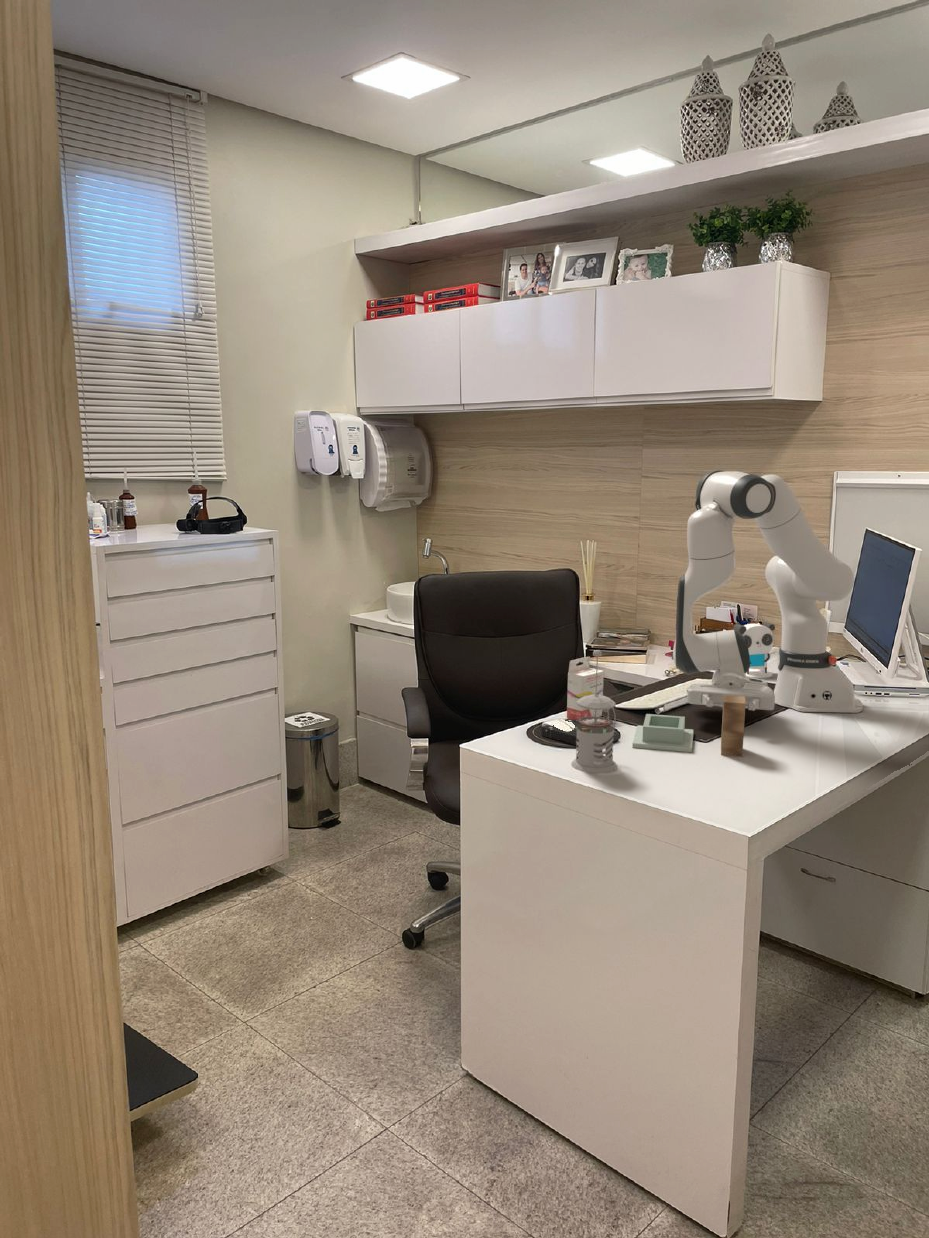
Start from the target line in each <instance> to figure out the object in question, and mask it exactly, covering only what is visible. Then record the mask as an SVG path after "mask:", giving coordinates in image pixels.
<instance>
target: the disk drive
mask: <svg viewBox="0 0 929 1238" xmlns="http://www.w3.org/2000/svg"><path fill="white" fill-rule="evenodd" d="M564 720H565V721H568V722H572V723H573V724H574V725H575V728H574V730H572V731H563V730H560V729H558V728H556V727H554V725H553V726H551V725H552V724H551V725H549V724H545V725H542V726H541V735H540V736H541V737H545V736H547V737H546V738H548V737H549V738H548V739H552V738H554V739H553V740H555V739H559V740H562V741H566V742H568V743H567V744H569V743H571V744H570V745H572V744H573V746H576V745H577V743H576V741H577V742H578V740H579V739H578V740H577V726H578V725H580V723H579V721H577V720H574V719H569V718H566V719H564ZM605 730H606V727H603V733H604V732H605ZM580 731H588V732H591V733H592V730H591V729H588V728H582V729H581V730H580ZM618 735H619V734H618V733H617V731H616V730H614V734H613V737H614V738H613V743H614V742H616V741H618V739H619V738H618V737H619V736H618ZM562 741H561V742H562ZM604 745H606V742H605V743H603V746H604ZM577 747H578V745H577Z"/></svg>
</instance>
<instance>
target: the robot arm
mask: <svg viewBox="0 0 929 1238" xmlns="http://www.w3.org/2000/svg"><path fill="white" fill-rule="evenodd" d="M694 505H695V508H696V510H695V511H694V512H693V513H691V515H690V516H689V517H688V520H687V525H686V527H687V528H686V539H687V540H686V541H687V542H686V545H687V552H688V553H687V554H688V567H687V569H686V572H685V574H683V575H681V576H680V578H679V581H678V585H677V596H676V597H677V598H676V613H675V615H676V617H675V618H676V619H675V620H676V621H675V638H674V642H673V651H672V658H673V662H674V665H675V667H676V669H678V670H679V671H681V672H682V673H683V674H686V675H688V676H690V675H694V674H699V673H702V672H709V671H710V672H711V671H714V672H713V674H712V678H711V684H707V683H706V684H705V683H692V684H690V686H689V687H688V686H687V688H686V693H687V694H686V695H687V696H686V702H687V703H688V704H691V705H702V706H706V707H707V708H714V706H715V707H720V708H721V709H723V699H724V695H730V696H745V709H748V711H753V712H754V711H756V710H760V711H761V710H763V711H773V710H775V705H779V706H782V707H786V708H789V709H793V710H795V711H797V712H803V713H804V712H806V713H808V712H809V713H812V712H813V713H854V714H855V713H860V712H862V711H863V710H864V705H863V703H862V701H861V700H860V699H858V698H857V697H855V689H854V685H853V684H852V682H851V681H850V679H849V678H848V677H847V676H845V675H844V674H843V673H841V671H839V670H838V669H837V668H836V667H834V666H833V665H836V664H837V663H838V659H837V657H836V656H835V655H834V654H832V653H831V652H830V651H827V639H828V638H827V637H828V636H827V635H828V621H827V619H826V617H825V616H824V615H823V614H822V613H821V611H820V609H819V607H818V603H817V601H819V602H839V601H842V600H844V599H845V598H847V597H848V596H849V595H850V593H851V592H852V590H853V587H854V584H855V576H854V571H853V569H852V568H851V567H850V566H849V565H848V564H846V563H845V562H843V561H841V560H840V559H839V558H838V557H837V556H835V555H834V554H833V552H832V551H830V550H829V549H828V548H827V546H825V544H824V543H823V542H822V541H821V539H820V538H819V537H818V536H817V535H816V534H815V532H814V531H813V529H812V527H811V525H810V523H809V521H808V520H807V517H806V515H805V514H804V511H803V509H802V507H801V505H800V503H799V501H798V499H797V497H796V496H795V494H794V493H793V491H792V489H791V487H789V485H788V483H786V481H785V480H784V479H783V478H782V477H781V476H779V475H777V474H771V473H769V474H764V475H762V476H760V475H757V474H752V473H751V474H750V473H746V472H743V471H736V470H733V471H729V470H728V471H726V470H713V471H710V472H708V473H707V474H704V475H703V476H702V477H701V478H700V479H699V482H698V484H697V487H696V491H695V504H694ZM735 518H740V519H743V520H751V519H752V520H753V519H754V520H755V523H756V525H757V527H758V529H759V532H760V533H761V535H762V537H763V540H764V541H765V543H766V545H767V547H768V549H769V550H770V552H771V553H773V555H775V556H773V557H771V559H770V560H769V561H768V562H767V564H766V567H765V573H764V574H765V576H764V577H765V580H766V583H767V584H768V586H769V587H770V588H771V589H772V591H773V592H774V594H775V597H776V600H777V603H778V607H779V611H780V615H781V640H780V641H781V642H780V648H779V649H778V654H777V669H778V672H777V678H776V682H775V685H774V689H772V688H771V687H769V686H768V681H765V680H761V679H758V678H749V677H746V673H747V671H748V670H749V668H750V656H749V650H748V645H747V642H746V639H745V637H744V636H743V635H742V634H741V633H739V632H738V631H736V630H733V629H728V630H720V631H719V630H718V631H714V632H713V631H712V632H707V633H706V632H705V633H693V631H692V625H693V610H694V609H693V608H694V605H695V603H696V602H698V600H700V599H701V598H703V597H705V596H706V595H708V594H710V593H713V592H714V591H716V590H718V589H720V588H721V587H723V586H724V585H725V584H727V583H728V582H729V581H730V579H732V577H733V576H734V573H735V571H736V564H737V563H736V551H735V543H734V539H733V526H734V524H735V521H736V519H735Z"/></svg>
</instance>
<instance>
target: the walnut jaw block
mask: <svg viewBox="0 0 929 1238" xmlns="http://www.w3.org/2000/svg"><path fill="white" fill-rule="evenodd" d="M745 717H746V708H745V696H730V695H724V699H723V708H722V718H721V719H722V722H721V723H722V724H721V737H720V738H721V739H720V755H721V756H729V757H730V756H732V757H743V752H744V751H743V749H744V734H745Z"/></svg>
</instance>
